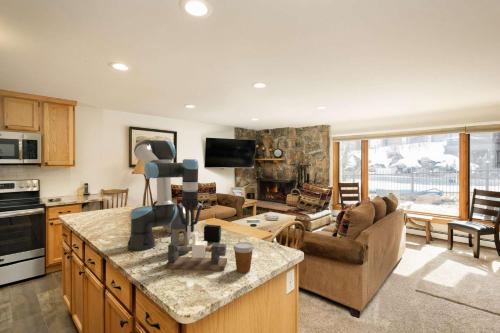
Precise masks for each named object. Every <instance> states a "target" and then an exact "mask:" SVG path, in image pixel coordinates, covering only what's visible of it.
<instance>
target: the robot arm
mask: <svg viewBox="0 0 500 333" xmlns="http://www.w3.org/2000/svg"><path fill="white" fill-rule="evenodd" d="M175 147H176V146H175V144H174V143H173V142H172V141H171V140H170V141H169V140H165V139H164V140H161V139H160V140H159V139H144V140H142V141H139V142H138V143H136V145H135V146H134V148H133V153H134V156H135V157H136V159H139V160H140V161H141V163H142V164H143V165H144V168H143V169H144V170H143V171H144V176H145V177H146V178H148V179H156V198H157V199H156V203H155V204H154V207H153V206H151V205H145V206H138V207H135V208H134V209H132V210H130V217H129V218H130V236H129V239H128V241H127V246H126V247H127V248H126V249H127V250H129V251H136V252H137V251H139V252H140V251H145V250H150V249H152V248H154V247H155V246H156V241H155V237H154V235H153V228H160V227H162V226H169V225H171V222H172V221H173V220H174V219H175V217H176V216H177V208H178V210H179V214H180V218H181V223H182V224H184V225H185V226H186V228H185V231H186V232H187V239H189V240H192V236H193V233H194V232H195V226H196V225H197V224H198V223H199V219H200V215H201V213H202V212H201V211H202V208H203V207H204V204H201V203H200V201H199V191H198V190H199V161H198V159H195V158H193V159H191V158H187V159H185V158H184V159H183V160H182V162H173V159H176V158H175V157H176V148H175ZM171 178H181V179H182V181H181V183H182V184H181V186H182V187H181V188H182V192H181V193H182V194H181V199H182V201H181V203H180V204H178V205H177V207H176V206H174V203H173V202H172V200H173V198H172V183H171V182H172V180H171ZM182 205H183V207H184V208H185V217H184V213H183V209H182ZM196 207H197V209H196ZM195 209H196V210H197V211H196V214H195ZM189 211H190V213H191V222H190V223H189Z"/></svg>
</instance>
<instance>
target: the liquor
mask: <svg viewBox="0 0 500 333" xmlns="http://www.w3.org/2000/svg"><path fill="white" fill-rule="evenodd" d="M176 199H177V205H178V204H180V203H181V201H182V198H176ZM182 209H183V205H182ZM185 228H186V226H185V225H184V224H182V223H181V218H180V214H179V210H178V208H177V216H176V217H175V219H174V220H173V221H172V222H171V233H170V243H171V242H172V241H178V246H181V247H190V239H187V232H186V231H185ZM189 253H190V251H178V256H184V255H187V254H189Z"/></svg>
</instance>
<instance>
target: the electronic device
mask: <svg viewBox="0 0 500 333" xmlns="http://www.w3.org/2000/svg"><path fill="white" fill-rule="evenodd" d="M221 229H222V226H221V225H219V224H218V225H217V224H206V225H204V226H203V241H207V243H212V244H213V243H214V242H215V243H220V241H222V230H221Z"/></svg>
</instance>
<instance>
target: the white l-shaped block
mask: <svg viewBox="0 0 500 333" xmlns="http://www.w3.org/2000/svg"><path fill="white" fill-rule="evenodd" d="M191 240H192V241H191V242H192V245H191V247H192V251H191V257H195V258H206V256H207V254H208V252H206V251H205V247H208V242H207V241H204V240H199V231H197V230H196V231H195V230H194V231H193V232H192V238H191Z"/></svg>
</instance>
